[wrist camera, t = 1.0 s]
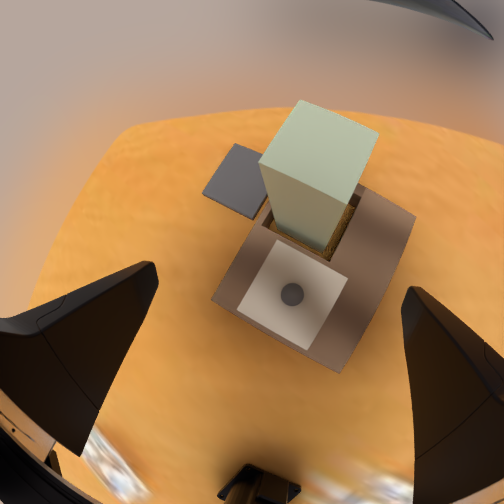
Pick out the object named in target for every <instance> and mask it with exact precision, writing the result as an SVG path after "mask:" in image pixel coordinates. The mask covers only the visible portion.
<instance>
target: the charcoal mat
mask: <svg viewBox="0 0 504 504" xmlns="http://www.w3.org/2000/svg"><path fill="white" fill-rule="evenodd" d="M262 155H263V154H261V153H258V152H256V151H253V150H251V149H248V148H246V147H243V146H241V145H238V144H236V143H235V144H234V145H233V147H232V148H231V150H230V151H229V153H228V154H227V155H226V157H225V158H224V160H223V161H222V163H221V164H220V166H219V167H218V169H217V170H216V172H215V173H214V175H213V176H212V178H211V180H210V181H209V183H208V184H207V186H206V187H205V189H204V190H203V192H202V194H203V195H204V196H206V197H208V198H210V199H212V200H214V201H216V202H218V203H220V204H222V205H224V206H226V207H228V208H230V209H232V210H234V211H236V212H238V213H239V214H241V215H243V216H245V217H247V218H249V219H251V220H254V218H255V217H256V215H257V213H258V211H259V210H260V208H261V206H262V205H263V203H264V201H265V200H266V198H267V196H268V194H267V191H266V187H265V184H264V180H263V177H262V174H261V170H260V167H259V163H258V162H259V160H260V159H261V157H262Z"/></svg>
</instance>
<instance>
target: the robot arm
mask: <svg viewBox="0 0 504 504" xmlns="http://www.w3.org/2000/svg"><path fill="white" fill-rule="evenodd" d="M158 284H159V280H158V276H157V272H156V267H155V264H154V263H153V262H150V261H142V262H139V263H137V264H134V265H132V266H130V267H127V268H125V269H123V270H120V271H118V272H116V273H113V274H111V275H109V276H106V277H104V278H102V279H99V280H97V281H95V282H93V283H90V284H88V285H86V286H84V287H81V288H79V289H77V290H75V291H72V292H70V293H68V294H67V295H63V296H61V297H59V298H57V299H55V300H52V301H50V302H48V303H45V304H43V305H41V306H38V307H36V308H33V309H31V310H28V311H26V312H23V313H21V314H18V315H16V316H13V317H10V318H0V500H1V501H2V502H3V503H4V504H102V503H101V502H99V501H97V500H96V499H94V498H92V497H91V496H89V495H87V494H86V493H84V492H83V491H81V490H80V489H78V488H77V487H75V486H74V485H72V484H71V483H69V482H68V481H67V480H65V479H64V478H63V477H62V474H61V470H60V466H59V462H58V458H57V454H56V452H55V451H54V450H53V447H54V445H55V444H56V442H58V443H59V444H61V445H62V446H64V447H65V448H66V449H68V450H69V451H71V452H72V453H74V454H75V455H77V456H78V457H80V456H81V454H82V452H83V449H84V447H85V444H86V442H87V439H88V437H89V435H90V432H91V430H92V427H93V425H94V423H95V420H96V418H97V416H98V413H99V410H100V409H101V406H102V404H103V402H104V400H105V398H106V395H107V393H108V391H109V389H110V387H111V385H112V382H113V380H114V378H115V376H116V374H117V372H118V370H119V368H120V366H121V364H122V362H123V360H124V358H125V356H126V354H127V352H128V350H129V348H130V346H131V344H132V342H133V340H134V338H135V336H136V334H137V332H138V330H139V329H140V327H141V325H142V323H143V321H144V319H145V317H146V314H147V312H148V309H149V307H150V305H151V302H152V300H153V297H154V295H155V293H156V290H157V288H158ZM401 315H402V326H403V338H404V349H405V356H406V362H407V369H408V375H409V383H410V391H411V400H412V411H413V425H414V448H415V463H414V493H413V504H504V358H503V357H502V356H500V355H499V354H498V353H497V352H496V351H495V350H494V349H493V348H492V347H491V346H490V345H488V344H487V343H486V342H484V340H483V339H482V338H481V337H480V336H479V335H477V334H476V333H475V332H474V331H473V330H472V329H471V328H470V327H468V326H467V325H466V324H465V323H464V322H463V321H461V320H460V319H459V318H458V317H457V316H456V315H454V314H453V313H452V312H451V311H450V310H448V309H447V308H446V307H445V306H444V305H442V304H441V303H440V302H439V301H437V300H436V299H435V298H434V297H433V296H431V295H430V294H429V293H428V292H426V291H425V290H424V289H422V288H421V287H418V286H410V287H409V288H408V290H407V293H406V295H405V298H404V301H403V303H402V307H401ZM247 468H250V469H247ZM295 489H298V490H295ZM300 492H301V486H299V485H296V484H294V483H291V482H289V481H287V480H285V479H282V478H280V477H278V476H275V475H273V474H271V473H268V472H265V471H263V470H261V469H259V468H257V467H255V466H253V465H250V464H246V465H244V466H243V467H242V468H241V470H240V471H239V472H238V473H237V474H236V475H235V476H234V477H233V478H232V479H231V480H230V481H229V482H228V483H227V484H226V485H225V487H224V488H223V489H222V490H221V491H220V492H219V493H218V495H217V497H218V498H219V499H221V500H223V501H225V502H224V504H288V503H289V502H290V501H291V500H292V499H293V498H294V497H295V496H297V495H298V494H299V493H300ZM221 495H223V496H221Z"/></svg>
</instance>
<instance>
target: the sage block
mask: <svg viewBox="0 0 504 504" xmlns="http://www.w3.org/2000/svg"><path fill="white" fill-rule="evenodd" d="M378 136H379V133H378V132H376V131H374V130H371V129H369V128H367V127H365V126H363V125H361V124H359V123H357V122H355V121H352V120H350V119H348V118H346V117H343V116H341V115H339V114H336V113H334V112H332V111H329V110H327V109H324V108H322V107H319V106H316V105H314V104H311V103H308V102H306V101H303V100H299V102H298V103H297V105H296V106H295V108H294V109H293V110H292V112H291V113H290V115H289V116H288V118H287V119H286V121H285V122H284V124H283V125H282V127H281V128H280V130H279V131H278V133H277V134H276V136H275V137H274V139H273V140H272V142H271V143H270V145H269V146H268V148H267V149H266V151H265V152H264V154H263V155H262V157H261V159H260V160H259V162H258V163H259V167H260V170H261V174H262V177H263V180H264V184H265V187H266V191H267V194H268V198H269V201H270V205H271V208H272V212H273V215H274V219H275V222H276V226H277V230H279V231H281V232H283V233H285V234H287V235H289V236H291V237H292V238H294V239H296V240H298V241H300V242H302V243H304V244H305V245H307V246H309V247H311V248H313V249H315V250H317V251H318V252H320V253H323V252H324V250H325V248H326V246H327V244H328V242H329V240H330V238H331V236H332V234H333V232H334V230H335V228H336V226H337V224H338V222H339V220H340V218H341V216H342V214H343V212H344V210H345V208H346V206H347V204H348V202H349V200H350V198H351V196H352V194H353V192H354V190H355V187H356V185H357V183H358V181H359V179H360V177H361V174H362V172H363V170H364V168H365V166H366V163H367V161H368V159H369V157H370V154H371V152H372V150H373V148H374V145H375V143H376V141H377V138H378Z"/></svg>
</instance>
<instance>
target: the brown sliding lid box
mask: <svg viewBox="0 0 504 504" xmlns="http://www.w3.org/2000/svg"><path fill="white" fill-rule="evenodd" d="M348 204H350V205H352V206H354V207H356V208H355V210H354V212H353V214H352V216H351V218H350V221H349V223H348V225H347V227H346V229H345V231H344V233H343V235H342V237H341V239H340V241H339V243H338V245H337V247H336V249H335V251H334V252H333V254H332V256H331V258H330V260H329V261H327V260H325V259H323V258H321V257H319V256H318V255H316V254H314V253H312V252H310V251H308V250H307V249H305V248H303V247H301V246H299V245H297V244H296V243H294V242H292V241H290V240H288V239H286V238H284V237H282V236H281V235H279V234H277V233H275V232H273V231H271V230H269V229H268V227H269V225H270V224H271V222H272V220H273V218H274V215H273V212H272V208H271V205H270V201H268V203H267V204H266V206H265V208H264V209H263V211H262V213H261V214H260V216H259V218H258V220H257V221H256V223H255V225H254V226H253V228H252V230H251V231H250V233H249V235H248V237H247V238H246V240H245V242H244V243H243V245H242V247H241V249H240V250H239V252H238V254H237V255H236V257H235V259H234V261H233V262H232V264H231V266H230V267H229V269H228V271H227V273H226V274H225V276H224V278H223V280H222V281H221V283H220V285H219V286H218V288H217V290H216V292H215V293H214V295H213V297H212V299H211V300H212V301H213V302H215V303H216V304H218V305H220V306H221V307H223V308H224V309H226V310H228V311H229V312H231V313H232V314H234V315H236V316H237V317H239V318H241V319H242V320H244V321H246V322H247V323H249V324H251V325H252V326H254V327H256V328H257V329H259V330H261V331H262V332H264V333H266V334H267V335H269V336H271V337H273V338H274V339H276V340H278V341H280V342H281V343H283V344H285V345H287V346H288V347H290V348H292V349H294V350H296V351H297V352H299V353H301V354H303V355H305V356H307V357H308V358H310V359H312V360H314V361H316V362H318V363H320V364H322V365H323V366H325V367H327V368H329V369H331V370H333V371H335V372H337V373H340V372H341V370H342V369H343V367H344V366H345V364H346V362H347V361H348V359H349V358H350V356H351V354H352V353H353V351H354V349H355V348H356V346H357V344H358V342H359V341H360V339H361V337H362V335H363V334H364V332H365V330H366V328H367V326H368V325H369V323H370V321H371V319H372V317H373V315H374V313H375V311H376V309H377V307H378V305H379V303H380V301H381V299H382V297H383V295H384V293H385V291H386V289H387V287H388V285H389V283H390V281H391V278H392V276H393V274H394V272H395V270H396V267H397V265H398V263H399V260H400V258H401V256H402V253H403V251H404V248H405V246H406V243H407V241H408V238H409V236H410V233H411V230H412V228H413V225H414V222H415V219H416V216H414V215H413V214H411V213H409V212H408V211H406V210H405V209H403V208H401V207H400V206H398V205H396V204H394V203H393V202H391V201H389V200H388V199H386V198H384V197H382V196H381V195H379V194H377V193H375V192H373V191H372V190H370V189H368V188H366V187H364V186H362V185H360V184H359V183H357V185H356V187H355V190H354V192H353V194H352V196H351V198H350V200H349V202H348Z"/></svg>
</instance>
